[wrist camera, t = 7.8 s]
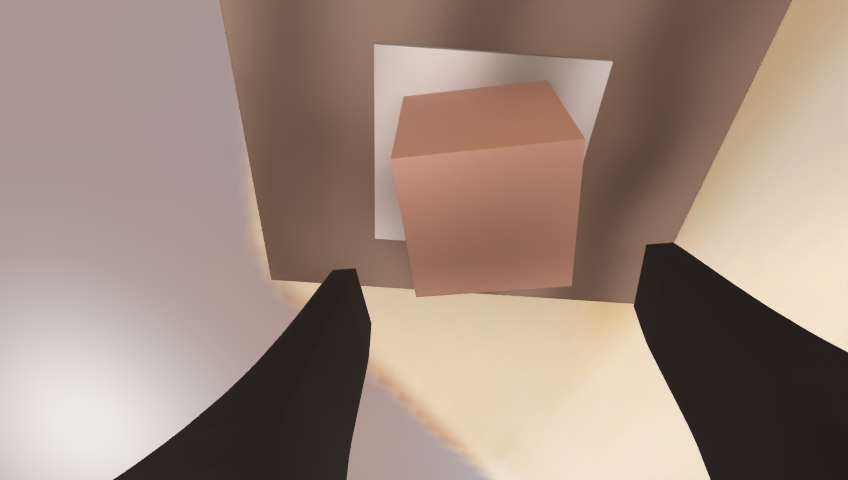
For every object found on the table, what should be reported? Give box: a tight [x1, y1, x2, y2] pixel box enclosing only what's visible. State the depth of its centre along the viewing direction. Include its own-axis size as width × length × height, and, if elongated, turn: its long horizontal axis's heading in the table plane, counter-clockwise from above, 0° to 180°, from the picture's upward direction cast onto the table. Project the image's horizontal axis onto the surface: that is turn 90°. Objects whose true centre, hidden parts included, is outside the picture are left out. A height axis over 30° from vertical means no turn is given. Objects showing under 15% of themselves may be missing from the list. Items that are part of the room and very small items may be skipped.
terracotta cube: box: [391, 80, 585, 297], centre depth 15 cm, size 5×5×5 cm
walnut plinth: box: [220, 0, 792, 304], centre depth 18 cm, size 18×14×3 cm
